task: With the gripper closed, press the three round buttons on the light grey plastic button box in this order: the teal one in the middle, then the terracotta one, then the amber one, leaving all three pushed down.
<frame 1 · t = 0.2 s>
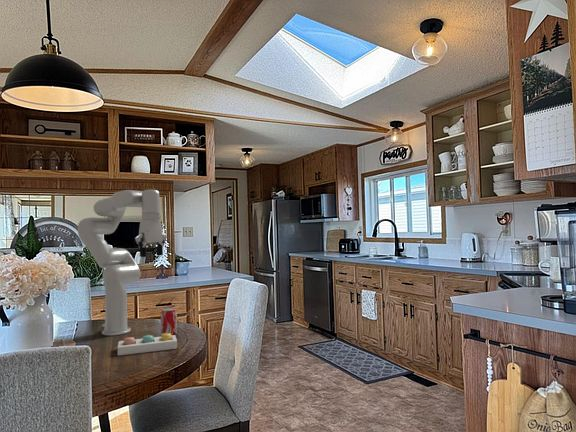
hand: (151, 256, 178), 36 cm above the table, tool pointing down, fingers open, 9 cm apart
soda can: (169, 336, 180), on the table
amber button: (166, 338, 164), point 3 cm above the table, slide at 0.0 cm
teal button: (147, 340, 161), point 3 cm above the table, slide at 0.0 cm
button box: (147, 348, 161), on the table
terracotta button: (129, 342, 159), point 3 cm above the table, slide at 0.0 cm
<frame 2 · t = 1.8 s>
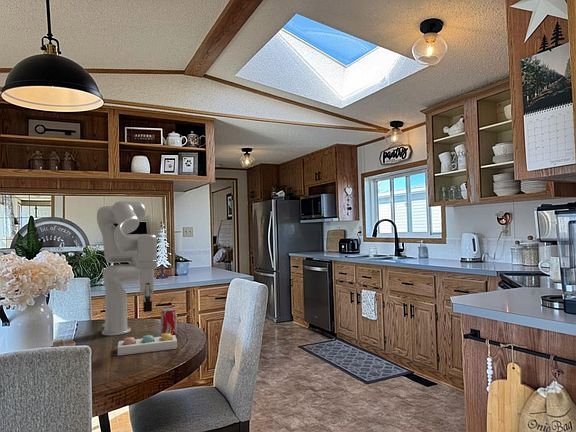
hand: (147, 310, 162), 15 cm above the table, tool pointing down, fingers open, 3 cm apart
nothing on the table moved.
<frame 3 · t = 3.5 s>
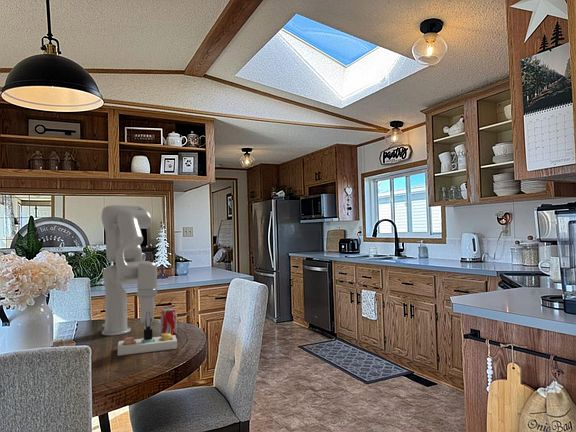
hand: (148, 339, 161), 4 cm above the table, tool pointing down, fingers closed
teal button: (147, 342, 161), point 2 cm above the table, slide at 1.1 cm, touching gripper
everything else where it was.
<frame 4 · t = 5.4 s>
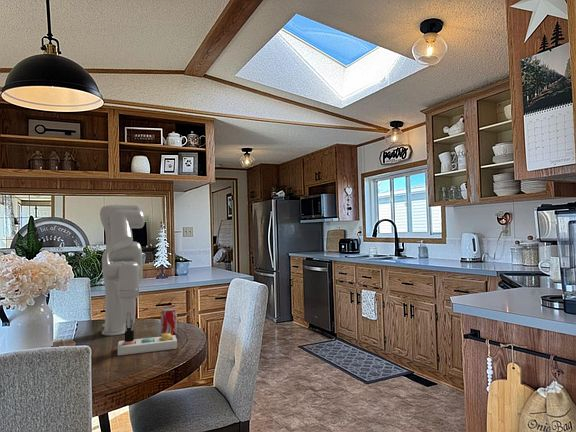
hand: (129, 340, 158), 4 cm above the table, tool pointing down, fingers closed
teal button: (147, 343, 161), point 2 cm above the table, slide at 1.2 cm
terracotta button: (129, 344, 159), point 2 cm above the table, slide at 0.9 cm, touching gripper
everything else where it was.
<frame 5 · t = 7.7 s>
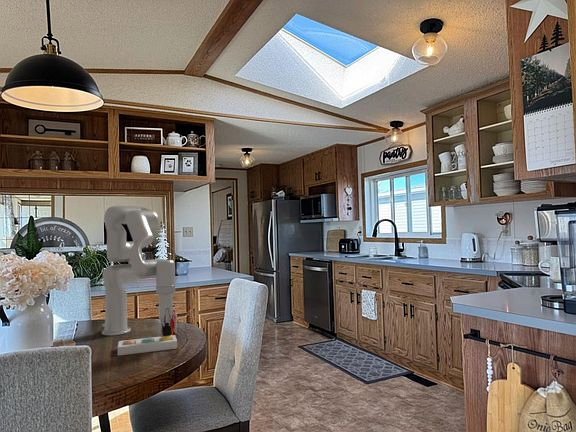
hand: (166, 335, 163), 4 cm above the table, tool pointing down, fingers closed
amber button: (166, 339, 164), point 3 cm above the table, slide at 0.4 cm, touching gripper
terracotta button: (129, 345, 159), point 2 cm above the table, slide at 1.2 cm
everything else where it was.
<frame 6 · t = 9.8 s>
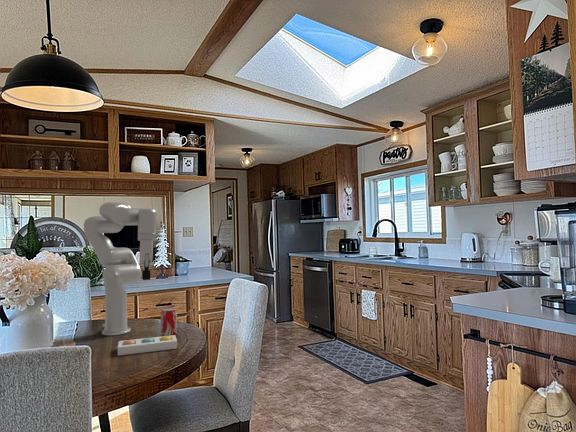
hand: (146, 279, 173), 26 cm above the table, tool pointing down, fingers closed
amber button: (166, 341, 164), point 2 cm above the table, slide at 1.1 cm
everything else where it was.
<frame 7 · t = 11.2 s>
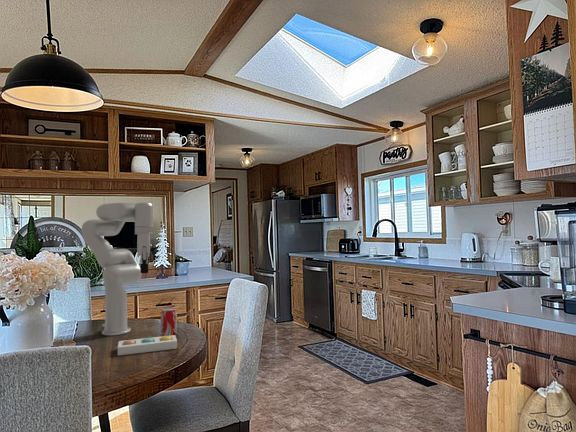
hand: (144, 272, 175), 29 cm above the table, tool pointing down, fingers closed
nothing on the table moved.
at the end: teal button slide at 1.2 cm; terracotta button slide at 1.2 cm; amber button slide at 1.1 cm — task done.
